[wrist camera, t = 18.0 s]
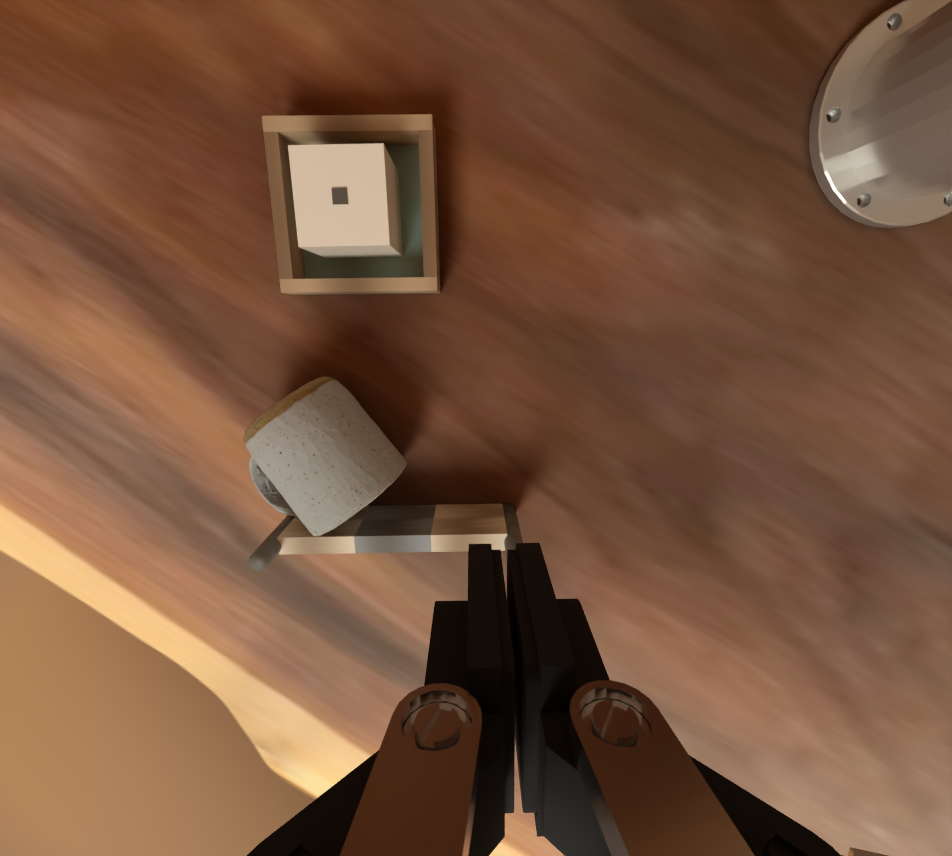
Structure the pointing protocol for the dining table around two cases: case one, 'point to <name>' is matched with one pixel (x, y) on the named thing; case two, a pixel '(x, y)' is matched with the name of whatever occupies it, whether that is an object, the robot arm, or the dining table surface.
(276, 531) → the scoring rail
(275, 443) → the ceramic mug
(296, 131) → the felt tray
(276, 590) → the dining table surface
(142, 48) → the dining table surface
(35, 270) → the dining table surface
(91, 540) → the dining table surface
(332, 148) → the die
